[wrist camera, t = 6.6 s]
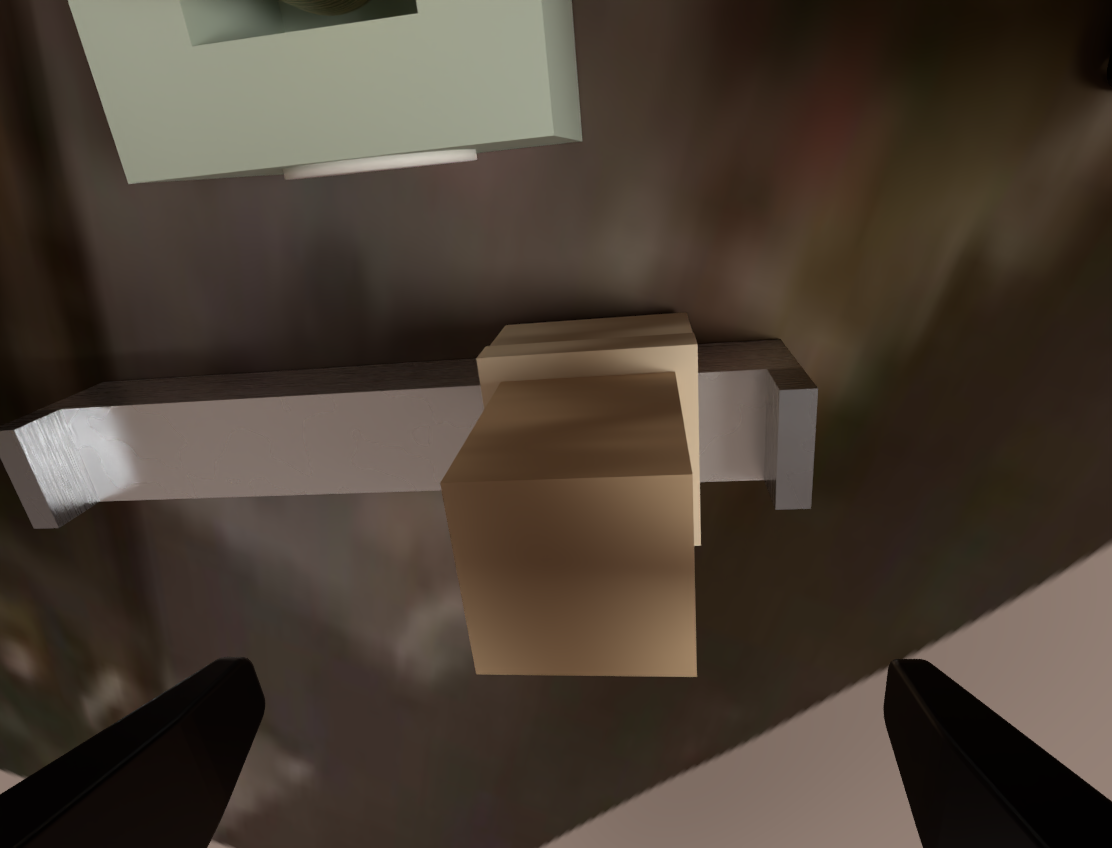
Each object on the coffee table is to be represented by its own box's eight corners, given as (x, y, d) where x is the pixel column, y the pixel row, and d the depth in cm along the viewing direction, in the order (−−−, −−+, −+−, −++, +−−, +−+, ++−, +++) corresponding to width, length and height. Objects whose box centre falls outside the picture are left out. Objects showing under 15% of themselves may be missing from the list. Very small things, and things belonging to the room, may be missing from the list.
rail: (780, 339, 18) (818, 388, 14) (776, 438, 19) (810, 508, 15) (103, 382, 21) (-12, 431, 17) (135, 465, 22) (34, 528, 18)
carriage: (686, 308, 17) (725, 436, 9) (690, 480, 19) (725, 703, 11) (505, 321, 18) (403, 450, 10) (526, 485, 20) (455, 698, 12)
